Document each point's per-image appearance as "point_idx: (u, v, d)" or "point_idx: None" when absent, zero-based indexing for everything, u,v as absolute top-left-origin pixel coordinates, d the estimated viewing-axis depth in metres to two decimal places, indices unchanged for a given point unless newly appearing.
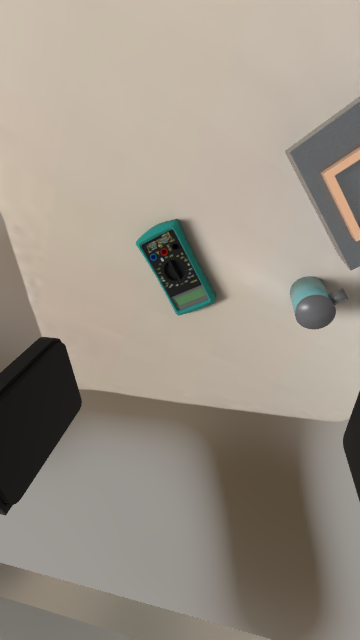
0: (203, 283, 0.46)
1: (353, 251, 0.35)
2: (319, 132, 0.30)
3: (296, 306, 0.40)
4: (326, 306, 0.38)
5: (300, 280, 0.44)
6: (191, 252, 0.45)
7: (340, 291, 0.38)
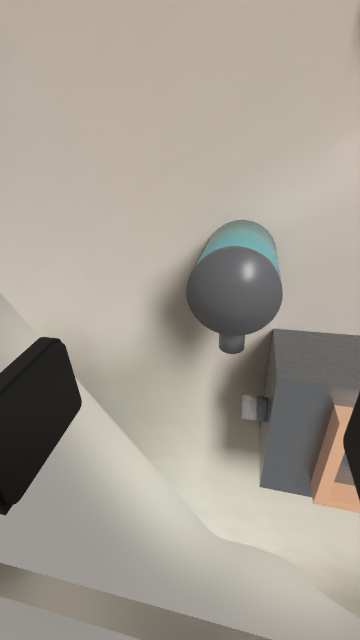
0: None
1: (310, 395, 0.19)
2: None
3: (272, 264, 0.15)
4: (236, 322, 0.16)
5: None
6: None
7: (243, 345, 0.18)
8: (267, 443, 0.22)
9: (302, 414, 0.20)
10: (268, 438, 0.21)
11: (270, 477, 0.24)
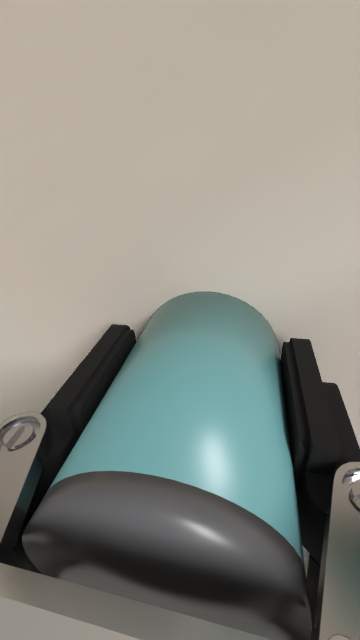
0: None
1: None
2: None
3: (278, 536, 0.04)
4: None
5: None
6: None
7: None
8: None
9: None
10: None
11: None
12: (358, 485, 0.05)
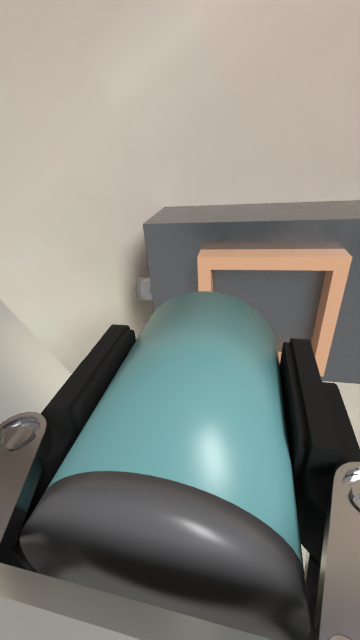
0: None
1: (176, 240, 0.19)
2: None
3: (276, 536, 0.04)
4: None
5: None
6: None
7: None
8: (154, 310, 0.22)
9: (176, 266, 0.20)
10: (153, 304, 0.22)
11: None
12: (358, 485, 0.05)
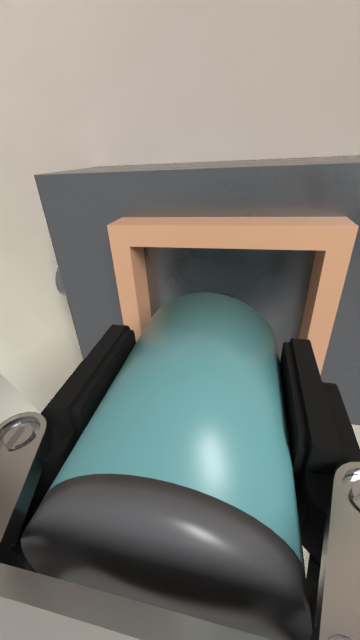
0: None
1: (86, 202, 0.12)
2: None
3: (278, 539, 0.04)
4: None
5: None
6: None
7: None
8: (71, 310, 0.15)
9: (90, 243, 0.13)
10: (68, 300, 0.15)
11: None
12: (358, 485, 0.05)
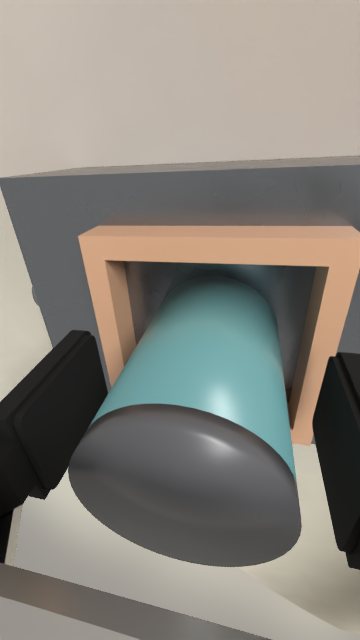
0: None
1: (57, 209, 0.11)
2: None
3: (274, 452, 0.05)
4: (190, 547, 0.07)
5: None
6: None
7: None
8: (47, 326, 0.14)
9: (64, 255, 0.12)
10: (43, 315, 0.14)
11: None
12: None
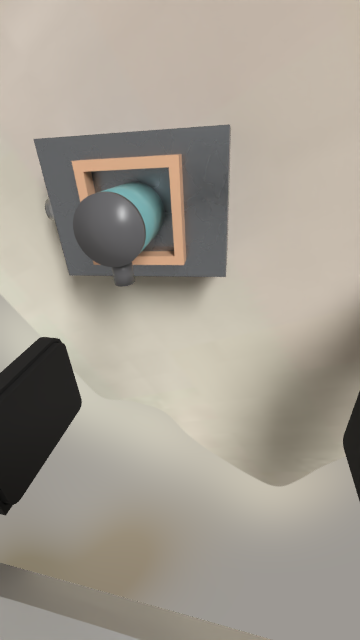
0: None
1: (61, 153, 0.24)
2: (226, 172, 0.23)
3: (133, 204, 0.19)
4: (115, 255, 0.21)
5: (163, 213, 0.25)
6: None
7: (132, 279, 0.23)
8: (55, 219, 0.27)
9: (64, 176, 0.25)
10: (53, 212, 0.27)
11: (71, 260, 0.29)
12: None
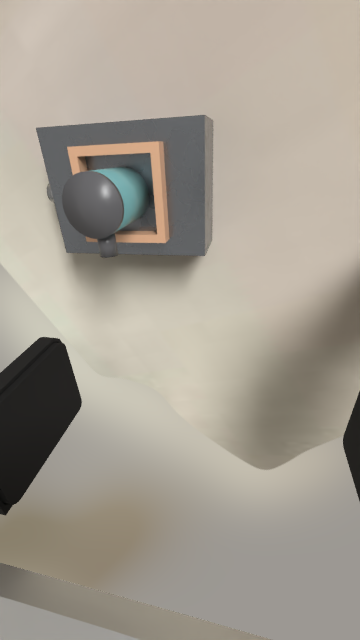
0: None
1: (59, 140, 0.28)
2: (203, 158, 0.26)
3: (112, 182, 0.22)
4: (98, 228, 0.24)
5: (147, 195, 0.28)
6: None
7: (115, 251, 0.26)
8: (54, 200, 0.31)
9: (62, 161, 0.28)
10: (53, 194, 0.30)
11: (68, 238, 0.33)
12: None
